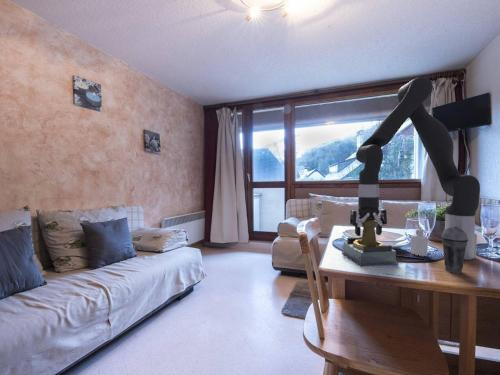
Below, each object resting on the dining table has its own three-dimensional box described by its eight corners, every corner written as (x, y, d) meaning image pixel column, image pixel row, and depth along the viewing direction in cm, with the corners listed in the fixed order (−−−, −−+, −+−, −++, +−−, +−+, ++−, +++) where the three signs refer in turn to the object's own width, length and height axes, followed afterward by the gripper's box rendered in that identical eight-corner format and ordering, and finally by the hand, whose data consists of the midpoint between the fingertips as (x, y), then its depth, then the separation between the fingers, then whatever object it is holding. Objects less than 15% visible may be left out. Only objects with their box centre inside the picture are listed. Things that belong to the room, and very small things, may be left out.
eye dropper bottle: (417, 252, 107) (418, 224, 106) (429, 256, 101) (430, 227, 101) (409, 252, 106) (409, 225, 106) (419, 257, 101) (420, 228, 100)
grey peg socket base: (374, 251, 109) (374, 235, 109) (397, 264, 94) (398, 246, 94) (341, 253, 108) (341, 237, 107) (360, 266, 93) (360, 248, 92)
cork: (379, 249, 97) (379, 221, 96) (362, 248, 98) (362, 221, 98) (374, 244, 103) (374, 218, 102) (359, 243, 104) (359, 218, 103)
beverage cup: (472, 273, 84) (474, 215, 83) (457, 276, 82) (459, 217, 81) (449, 265, 91) (451, 212, 90) (435, 268, 89) (436, 213, 88)
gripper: (379, 194, 104) (379, 232, 105) (347, 195, 102) (346, 233, 103) (391, 195, 96) (390, 236, 97) (356, 197, 95) (356, 238, 96)
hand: (368, 235), depth 100 cm, fingers open, 8 cm apart
